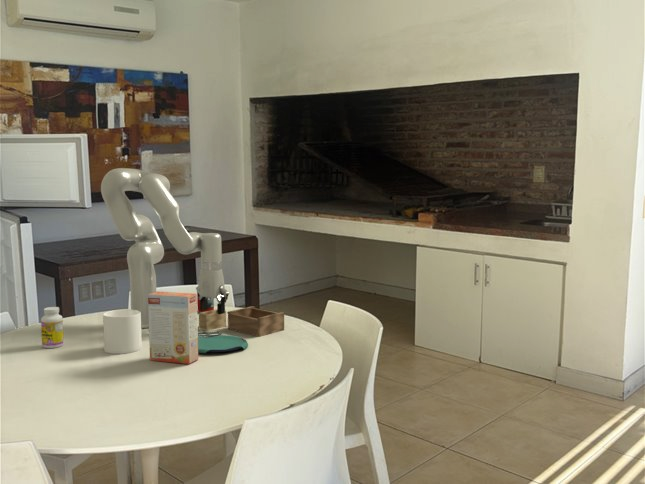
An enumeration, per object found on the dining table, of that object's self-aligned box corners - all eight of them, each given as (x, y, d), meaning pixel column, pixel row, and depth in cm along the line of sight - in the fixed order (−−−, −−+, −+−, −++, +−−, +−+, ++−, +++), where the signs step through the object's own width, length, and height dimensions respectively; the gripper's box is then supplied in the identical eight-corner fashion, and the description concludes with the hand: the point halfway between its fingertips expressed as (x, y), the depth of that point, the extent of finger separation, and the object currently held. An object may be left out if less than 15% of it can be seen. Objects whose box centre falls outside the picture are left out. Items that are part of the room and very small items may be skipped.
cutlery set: (195, 359, 193) (195, 352, 193) (173, 338, 220) (173, 332, 220) (255, 352, 202) (255, 345, 202) (227, 332, 229) (227, 326, 228)
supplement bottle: (37, 347, 206) (35, 309, 204) (53, 342, 212) (52, 305, 210) (52, 349, 203) (50, 311, 201) (68, 344, 209) (66, 307, 207)
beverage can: (210, 313, 256) (209, 285, 255) (195, 313, 257) (194, 284, 256) (216, 310, 263) (216, 282, 261) (201, 309, 264) (200, 281, 263)
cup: (149, 346, 207) (148, 311, 205) (124, 355, 196) (123, 318, 195) (122, 342, 212) (120, 308, 210) (96, 351, 201) (95, 315, 200)
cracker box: (199, 359, 192) (198, 292, 190) (189, 365, 187) (187, 296, 184) (160, 355, 197) (158, 290, 195) (149, 360, 191) (147, 293, 189)
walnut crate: (259, 336, 219) (259, 318, 219) (227, 329, 230) (227, 311, 229) (284, 329, 229) (284, 312, 229) (252, 322, 240) (252, 306, 239)
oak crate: (207, 331, 228) (207, 315, 227) (198, 328, 231) (198, 313, 231) (226, 326, 235) (226, 310, 234) (217, 324, 238) (217, 309, 238)
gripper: (188, 265, 233) (189, 310, 235) (219, 269, 222) (220, 316, 224) (204, 263, 239) (205, 307, 241) (235, 267, 228) (235, 313, 230)
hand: (212, 311), depth 232 cm, fingers open, 9 cm apart
